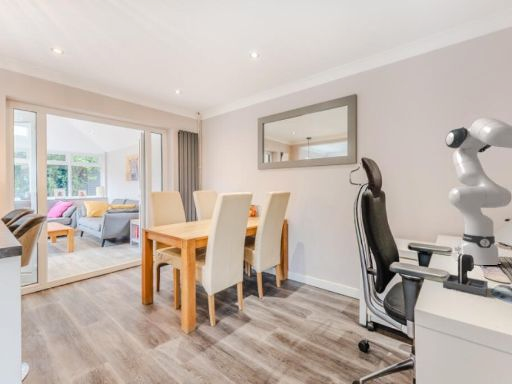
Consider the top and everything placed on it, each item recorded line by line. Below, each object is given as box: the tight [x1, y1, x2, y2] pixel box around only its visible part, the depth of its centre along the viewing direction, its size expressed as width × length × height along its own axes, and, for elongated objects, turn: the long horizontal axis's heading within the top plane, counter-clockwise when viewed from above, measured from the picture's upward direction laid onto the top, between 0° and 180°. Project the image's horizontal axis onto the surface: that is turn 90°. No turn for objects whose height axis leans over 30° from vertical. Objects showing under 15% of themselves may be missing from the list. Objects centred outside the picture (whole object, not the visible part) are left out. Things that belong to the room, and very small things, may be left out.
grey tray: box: [442, 273, 488, 298], centre depth 92 cm, size 12×12×2 cm
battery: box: [457, 254, 475, 286], centre depth 92 cm, size 7×4×11 cm, turn 131°
